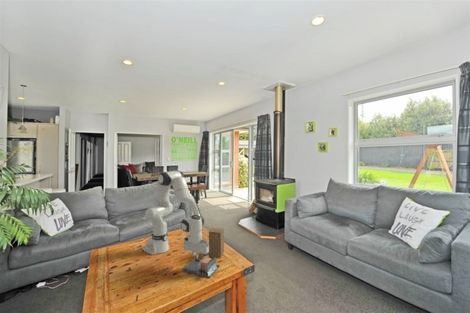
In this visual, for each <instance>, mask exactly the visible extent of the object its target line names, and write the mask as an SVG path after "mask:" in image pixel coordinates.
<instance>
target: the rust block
mask: <svg viewBox="0 0 470 313" xmlns="http://www.w3.org/2000/svg"><path fill="white" fill-rule="evenodd" d="M212 258H213V257H209V258H208V257H207V258H206V259H205V260H204V261H203V262H202V271H205V265H206V264H207V263H208V262H209V261H210V260H211V259H212Z"/></svg>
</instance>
